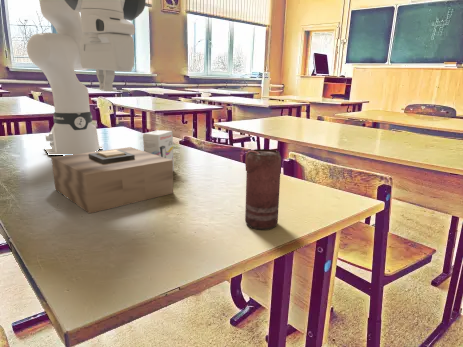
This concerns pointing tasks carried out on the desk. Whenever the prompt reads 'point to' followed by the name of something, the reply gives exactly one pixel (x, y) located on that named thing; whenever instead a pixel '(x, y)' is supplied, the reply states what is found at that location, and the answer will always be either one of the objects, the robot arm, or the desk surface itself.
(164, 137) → the ink box
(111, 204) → the sleeve block
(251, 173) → the can
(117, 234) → the desk surface
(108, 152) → the peg
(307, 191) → the desk surface
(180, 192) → the desk surface
